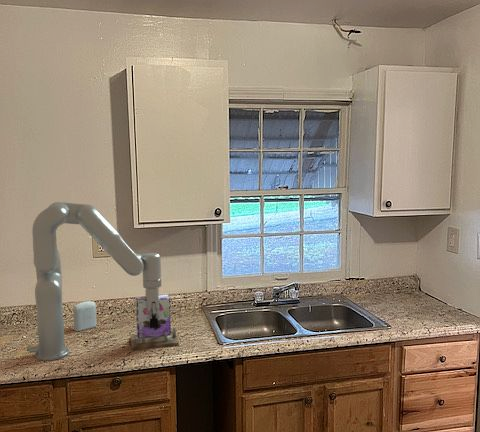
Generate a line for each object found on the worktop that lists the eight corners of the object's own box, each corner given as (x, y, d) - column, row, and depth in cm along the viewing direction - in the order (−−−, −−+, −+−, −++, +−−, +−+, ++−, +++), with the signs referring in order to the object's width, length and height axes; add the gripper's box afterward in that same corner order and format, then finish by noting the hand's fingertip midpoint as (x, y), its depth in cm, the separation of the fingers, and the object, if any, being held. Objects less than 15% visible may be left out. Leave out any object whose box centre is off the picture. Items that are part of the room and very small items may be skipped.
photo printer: (93, 324, 228) (92, 298, 227) (98, 326, 225) (97, 300, 224) (72, 330, 221) (71, 303, 220) (77, 332, 218) (75, 305, 216)
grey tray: (131, 350, 197) (131, 337, 196) (130, 337, 210) (130, 326, 210) (178, 345, 202) (178, 333, 201) (174, 333, 215) (174, 322, 214)
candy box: (137, 339, 201) (136, 300, 199) (136, 334, 207) (135, 296, 205) (171, 335, 205) (170, 297, 203) (169, 331, 210) (168, 293, 208)
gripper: (141, 278, 210) (143, 319, 212) (144, 288, 194) (145, 332, 196) (159, 277, 212) (160, 317, 214) (163, 287, 196) (164, 331, 198)
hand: (153, 324), depth 205 cm, fingers closed on candy box, 5 cm apart
